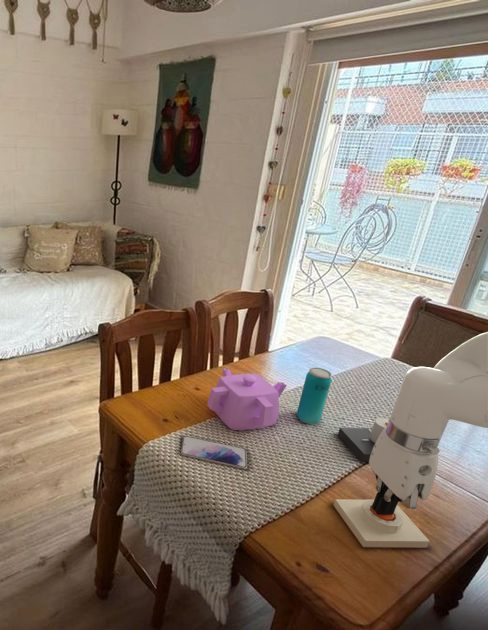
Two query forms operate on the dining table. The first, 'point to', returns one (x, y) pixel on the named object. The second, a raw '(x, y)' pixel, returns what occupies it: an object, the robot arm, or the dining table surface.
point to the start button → (383, 516)
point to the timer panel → (358, 441)
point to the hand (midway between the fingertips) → (382, 511)
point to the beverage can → (314, 395)
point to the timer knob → (378, 428)
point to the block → (379, 526)
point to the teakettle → (245, 401)
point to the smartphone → (214, 452)
